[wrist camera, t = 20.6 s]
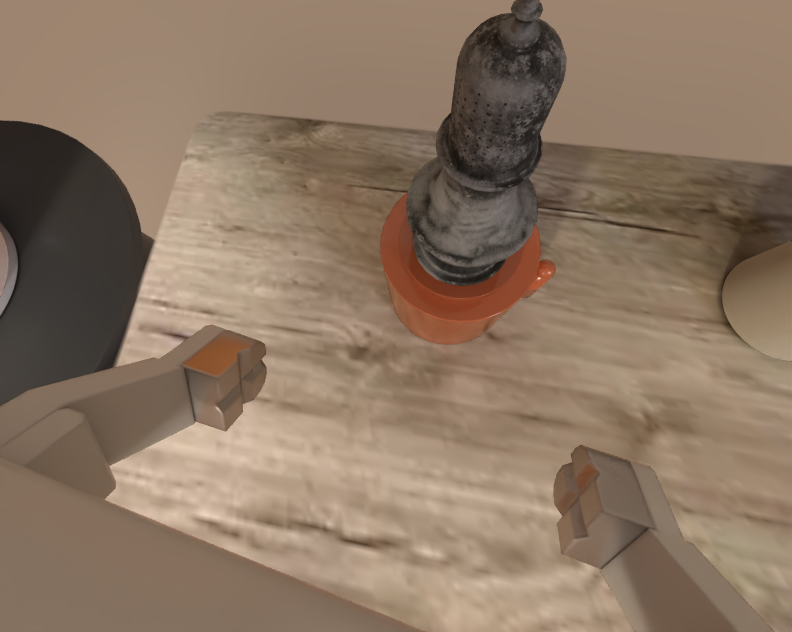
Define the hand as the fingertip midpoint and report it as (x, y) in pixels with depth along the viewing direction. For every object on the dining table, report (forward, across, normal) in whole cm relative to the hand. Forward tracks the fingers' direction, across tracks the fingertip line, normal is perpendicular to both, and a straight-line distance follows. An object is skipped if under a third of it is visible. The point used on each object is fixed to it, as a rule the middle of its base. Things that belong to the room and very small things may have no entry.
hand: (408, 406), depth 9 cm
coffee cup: (+19, 0, +6) cm, 19 cm away
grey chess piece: (+13, 0, 0) cm, 13 cm away
